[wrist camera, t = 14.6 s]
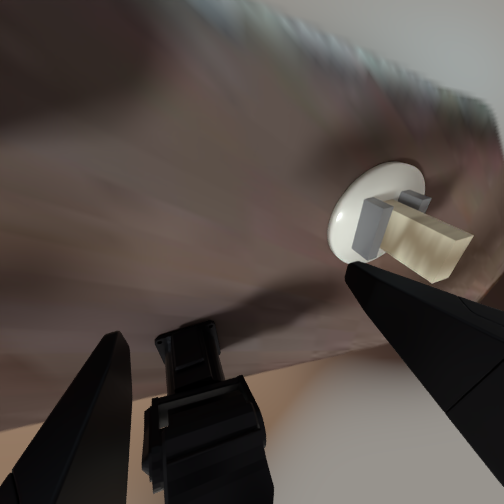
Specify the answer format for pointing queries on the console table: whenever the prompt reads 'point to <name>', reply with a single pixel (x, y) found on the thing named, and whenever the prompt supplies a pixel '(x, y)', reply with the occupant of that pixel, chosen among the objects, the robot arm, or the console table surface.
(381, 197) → the dish
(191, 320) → the console table surface
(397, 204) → the block
